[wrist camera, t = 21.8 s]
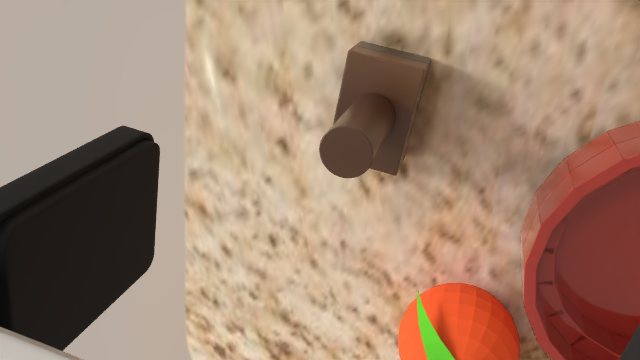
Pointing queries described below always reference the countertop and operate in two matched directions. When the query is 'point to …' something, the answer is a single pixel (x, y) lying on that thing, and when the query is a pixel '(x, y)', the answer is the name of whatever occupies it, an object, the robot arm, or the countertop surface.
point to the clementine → (457, 326)
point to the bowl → (586, 251)
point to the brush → (374, 111)
